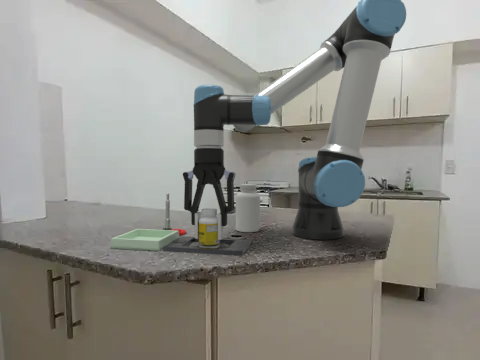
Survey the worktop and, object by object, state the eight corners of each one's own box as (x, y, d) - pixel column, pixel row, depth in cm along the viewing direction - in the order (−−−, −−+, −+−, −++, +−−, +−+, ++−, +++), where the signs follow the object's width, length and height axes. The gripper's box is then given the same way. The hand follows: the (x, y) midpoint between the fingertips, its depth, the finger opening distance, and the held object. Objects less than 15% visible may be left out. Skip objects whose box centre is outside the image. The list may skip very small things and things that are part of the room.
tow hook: (164, 232, 104) (152, 236, 95) (165, 192, 104) (153, 193, 95) (189, 232, 103) (179, 238, 94) (190, 192, 103) (180, 193, 94)
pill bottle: (258, 233, 100) (259, 185, 99) (233, 232, 101) (233, 184, 100) (261, 228, 107) (261, 183, 107) (237, 227, 109) (237, 183, 108)
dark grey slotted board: (251, 243, 87) (251, 239, 87) (242, 255, 75) (242, 250, 75) (181, 239, 91) (181, 236, 91) (163, 250, 79) (163, 246, 79)
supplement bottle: (197, 245, 85) (197, 208, 84) (217, 243, 86) (217, 207, 86) (200, 250, 79) (200, 211, 79) (222, 248, 81) (222, 210, 81)
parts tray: (179, 239, 91) (179, 230, 91) (158, 251, 79) (158, 241, 79) (137, 237, 94) (137, 228, 94) (111, 248, 81) (110, 238, 81)
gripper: (247, 148, 84) (246, 236, 85) (180, 149, 87) (181, 233, 88) (241, 146, 76) (241, 243, 77) (169, 147, 80) (170, 239, 81)
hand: (209, 237), depth 83 cm, fingers closed on supplement bottle, 5 cm apart
